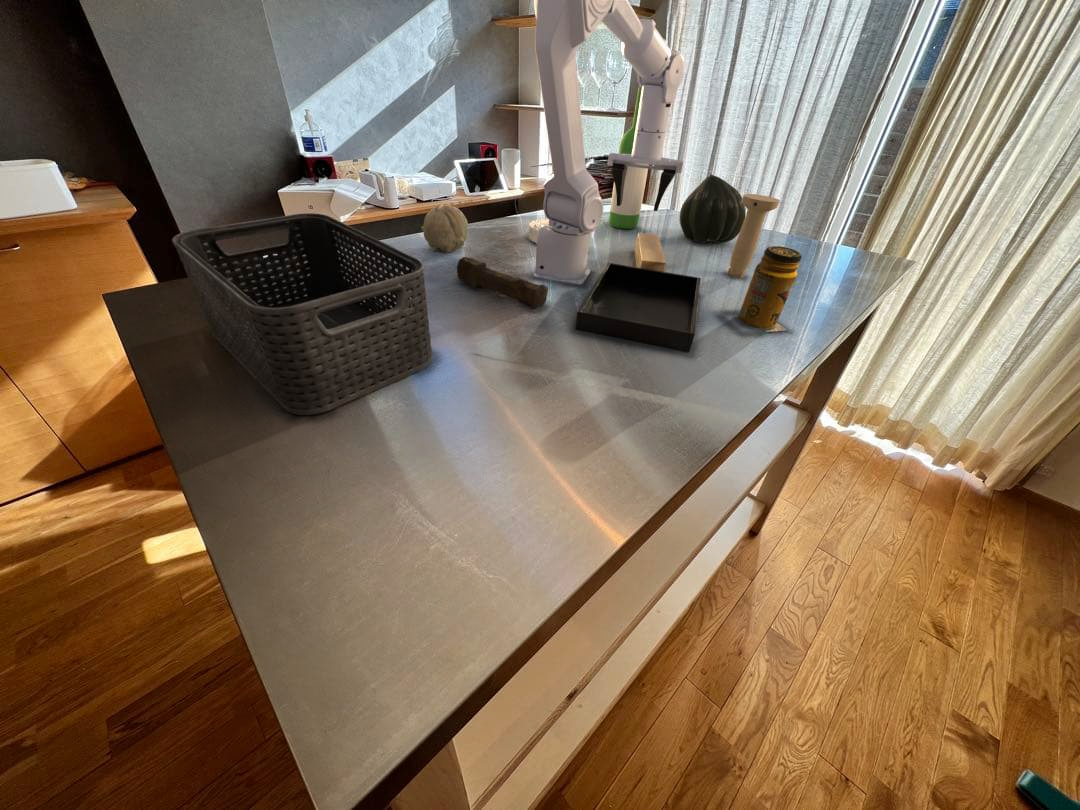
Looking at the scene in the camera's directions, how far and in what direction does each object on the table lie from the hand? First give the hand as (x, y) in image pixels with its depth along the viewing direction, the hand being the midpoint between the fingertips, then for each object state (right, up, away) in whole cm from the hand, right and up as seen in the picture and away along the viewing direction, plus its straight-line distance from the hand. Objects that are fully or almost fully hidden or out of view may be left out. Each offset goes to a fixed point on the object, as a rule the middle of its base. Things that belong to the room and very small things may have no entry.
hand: (637, 207), depth 92 cm
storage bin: (-50, -33, -31) cm, 68 cm away
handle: (+20, -14, 0) cm, 25 cm away
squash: (+21, 0, +19) cm, 28 cm away
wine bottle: (+2, +6, +25) cm, 26 cm away
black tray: (-3, -25, -17) cm, 30 cm away
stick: (+2, -12, +1) cm, 13 cm away
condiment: (+15, -27, -17) cm, 36 cm away
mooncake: (-17, -2, +13) cm, 21 cm away
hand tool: (-28, -22, -14) cm, 38 cm away
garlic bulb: (-41, -8, +3) cm, 41 cm away
